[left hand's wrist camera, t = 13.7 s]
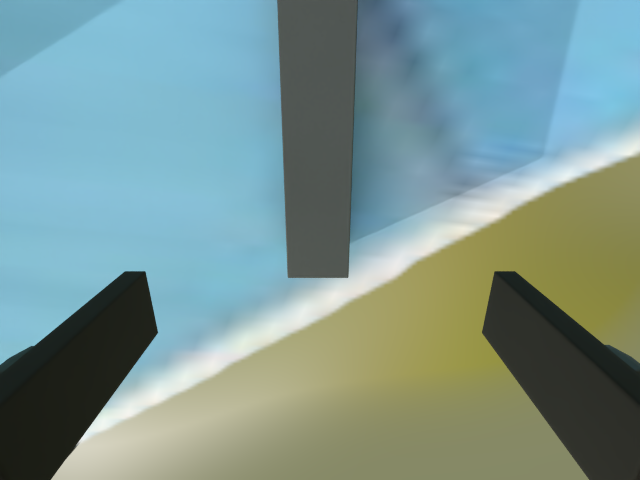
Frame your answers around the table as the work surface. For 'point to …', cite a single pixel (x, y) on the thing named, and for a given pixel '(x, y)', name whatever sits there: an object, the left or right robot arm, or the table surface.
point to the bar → (317, 132)
